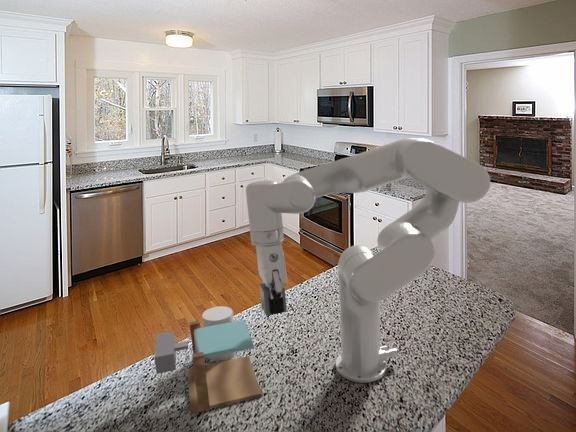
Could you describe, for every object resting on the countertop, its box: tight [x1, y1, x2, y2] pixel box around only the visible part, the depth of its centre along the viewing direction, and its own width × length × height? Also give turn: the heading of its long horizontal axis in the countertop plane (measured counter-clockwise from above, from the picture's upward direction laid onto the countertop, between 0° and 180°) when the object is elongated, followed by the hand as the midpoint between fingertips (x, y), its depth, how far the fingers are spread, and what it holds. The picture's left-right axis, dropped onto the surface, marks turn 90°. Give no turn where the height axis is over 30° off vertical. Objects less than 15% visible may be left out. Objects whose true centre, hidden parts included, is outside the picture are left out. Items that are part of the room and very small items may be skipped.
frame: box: [187, 320, 263, 414], centre depth 90 cm, size 16×16×14 cm
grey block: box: [258, 281, 288, 317], centre depth 90 cm, size 5×5×6 cm
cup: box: [201, 305, 237, 362], centre depth 103 cm, size 8×8×12 cm
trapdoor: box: [154, 319, 255, 375], centre depth 88 cm, size 21×13×4 cm, turn 106°
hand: (274, 307), depth 90 cm, fingers closed on grey block, 5 cm apart
